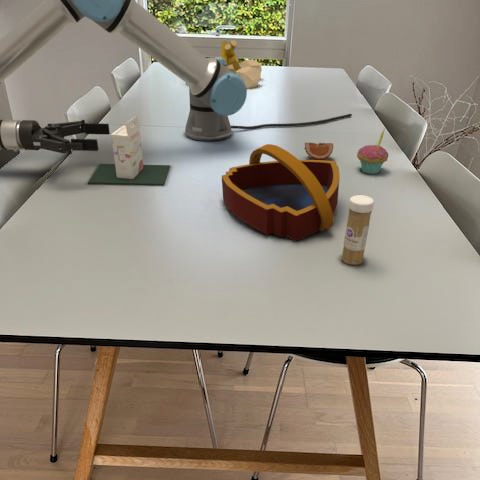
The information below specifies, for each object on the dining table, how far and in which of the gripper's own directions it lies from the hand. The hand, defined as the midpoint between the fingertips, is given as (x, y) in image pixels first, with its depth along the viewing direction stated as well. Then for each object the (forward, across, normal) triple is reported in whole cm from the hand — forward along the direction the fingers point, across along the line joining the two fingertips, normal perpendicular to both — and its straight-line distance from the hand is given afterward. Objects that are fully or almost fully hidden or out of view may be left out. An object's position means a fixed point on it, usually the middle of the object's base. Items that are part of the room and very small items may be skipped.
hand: (103, 136), depth 141 cm
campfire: (+27, -115, -10) cm, 119 cm away
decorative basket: (+47, +20, -10) cm, 52 cm away
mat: (+6, 0, -10) cm, 12 cm away
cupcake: (+73, -7, -10) cm, 74 cm away
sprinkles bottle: (+60, +45, -10) cm, 76 cm away
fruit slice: (+59, -16, -10) cm, 62 cm away
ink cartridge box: (+6, 0, -10) cm, 12 cm away
